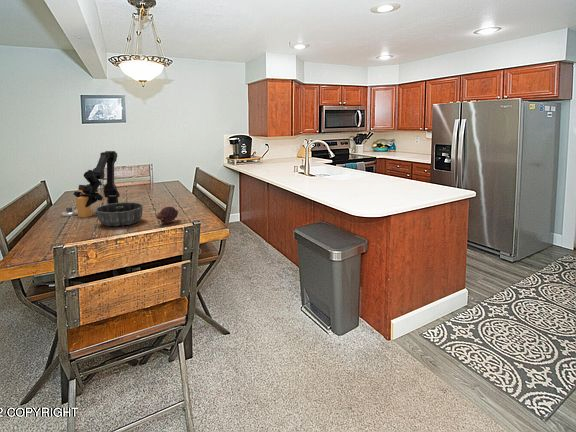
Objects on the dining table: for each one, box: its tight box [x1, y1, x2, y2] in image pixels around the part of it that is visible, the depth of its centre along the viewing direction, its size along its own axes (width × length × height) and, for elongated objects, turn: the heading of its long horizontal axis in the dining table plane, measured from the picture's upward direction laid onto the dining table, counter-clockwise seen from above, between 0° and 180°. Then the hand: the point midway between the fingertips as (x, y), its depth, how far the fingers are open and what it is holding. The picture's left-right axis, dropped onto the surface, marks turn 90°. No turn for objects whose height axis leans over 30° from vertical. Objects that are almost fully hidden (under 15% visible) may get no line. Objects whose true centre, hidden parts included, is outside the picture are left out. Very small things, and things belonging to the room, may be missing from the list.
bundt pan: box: [94, 201, 144, 227], centre depth 226 cm, size 26×26×10 cm
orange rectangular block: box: [75, 196, 93, 219], centre depth 242 cm, size 6×6×12 cm
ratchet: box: [61, 206, 94, 218], centre depth 253 cm, size 22×9×5 cm, turn 163°
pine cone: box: [155, 206, 179, 225], centre depth 226 cm, size 18×10×10 cm, turn 157°
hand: (82, 206), depth 241 cm, fingers closed on orange rectangular block, 6 cm apart
